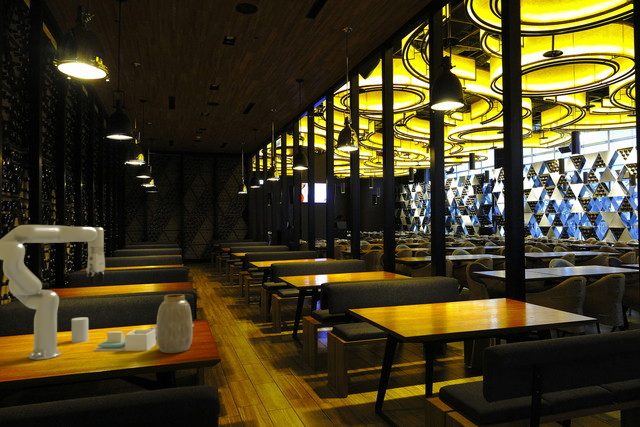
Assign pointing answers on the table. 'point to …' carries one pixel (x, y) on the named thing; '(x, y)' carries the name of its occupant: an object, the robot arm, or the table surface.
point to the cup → (79, 330)
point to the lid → (113, 340)
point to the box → (140, 340)
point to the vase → (174, 324)
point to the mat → (110, 349)
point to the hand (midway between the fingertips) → (95, 282)
